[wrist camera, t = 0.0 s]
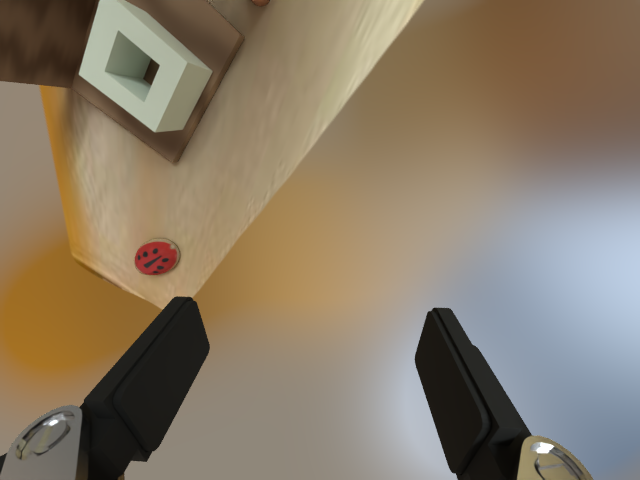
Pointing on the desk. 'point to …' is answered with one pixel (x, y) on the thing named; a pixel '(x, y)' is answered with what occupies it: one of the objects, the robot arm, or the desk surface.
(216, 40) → the brown wooden stand
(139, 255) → the ladybug figurine
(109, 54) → the sage block
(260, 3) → the dowel
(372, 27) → the desk surface
